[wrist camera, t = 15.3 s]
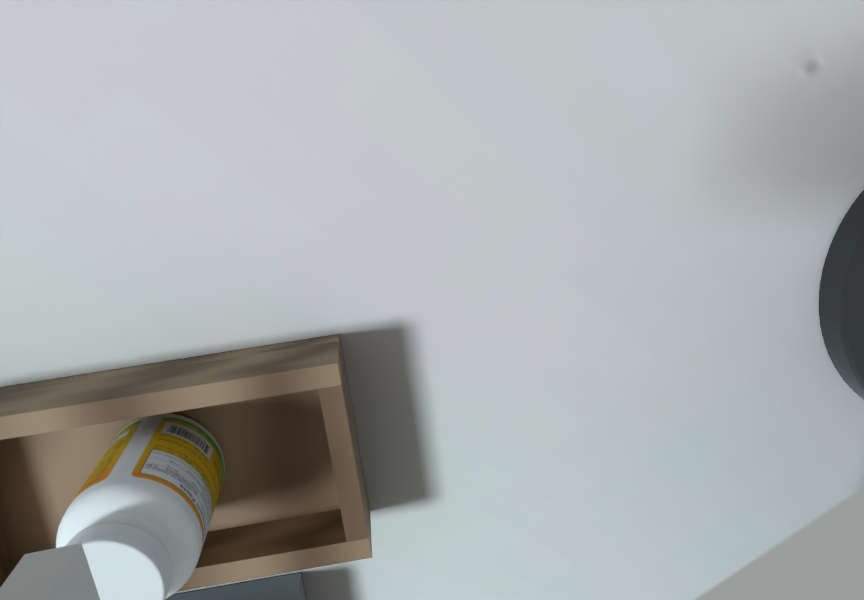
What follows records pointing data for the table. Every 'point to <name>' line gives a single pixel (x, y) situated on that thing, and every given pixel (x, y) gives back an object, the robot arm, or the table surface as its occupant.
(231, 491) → the trough
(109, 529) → the supplement bottle
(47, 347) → the table surface
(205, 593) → the grey stepped block
